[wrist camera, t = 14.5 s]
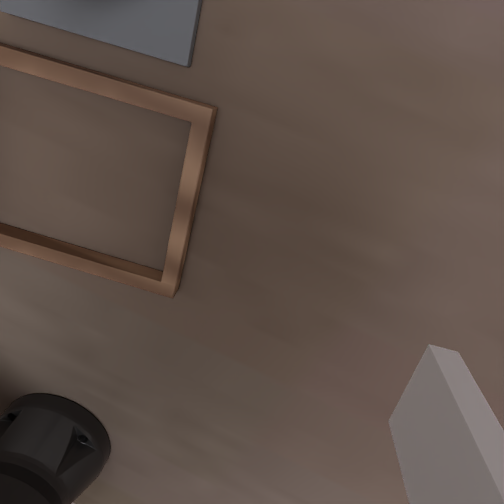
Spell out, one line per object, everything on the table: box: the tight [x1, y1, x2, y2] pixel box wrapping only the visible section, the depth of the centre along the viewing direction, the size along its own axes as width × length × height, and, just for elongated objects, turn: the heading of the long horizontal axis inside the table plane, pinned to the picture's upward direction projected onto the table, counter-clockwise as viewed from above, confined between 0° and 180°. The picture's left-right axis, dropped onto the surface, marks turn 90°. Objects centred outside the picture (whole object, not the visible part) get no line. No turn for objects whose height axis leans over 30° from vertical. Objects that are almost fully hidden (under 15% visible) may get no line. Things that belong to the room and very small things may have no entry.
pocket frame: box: [0, 43, 218, 298], centre depth 37 cm, size 19×22×2 cm
